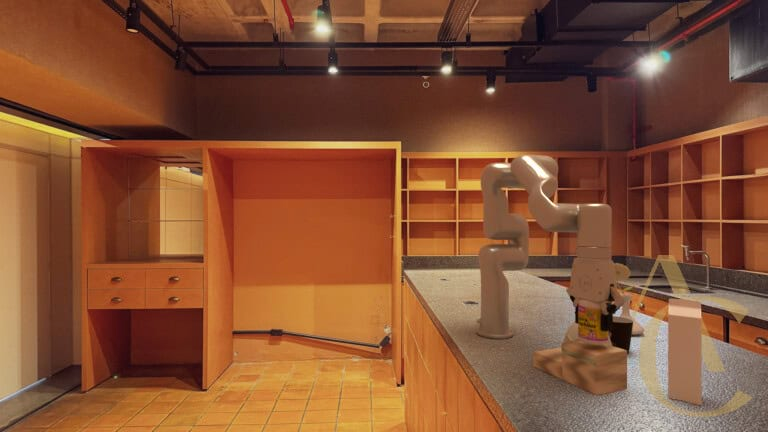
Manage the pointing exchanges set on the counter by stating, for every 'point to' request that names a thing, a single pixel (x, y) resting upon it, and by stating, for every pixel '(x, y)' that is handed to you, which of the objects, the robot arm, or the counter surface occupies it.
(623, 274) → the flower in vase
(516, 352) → the counter surface
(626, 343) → the coffee mug
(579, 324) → the supplement bottle
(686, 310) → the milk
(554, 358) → the stand
